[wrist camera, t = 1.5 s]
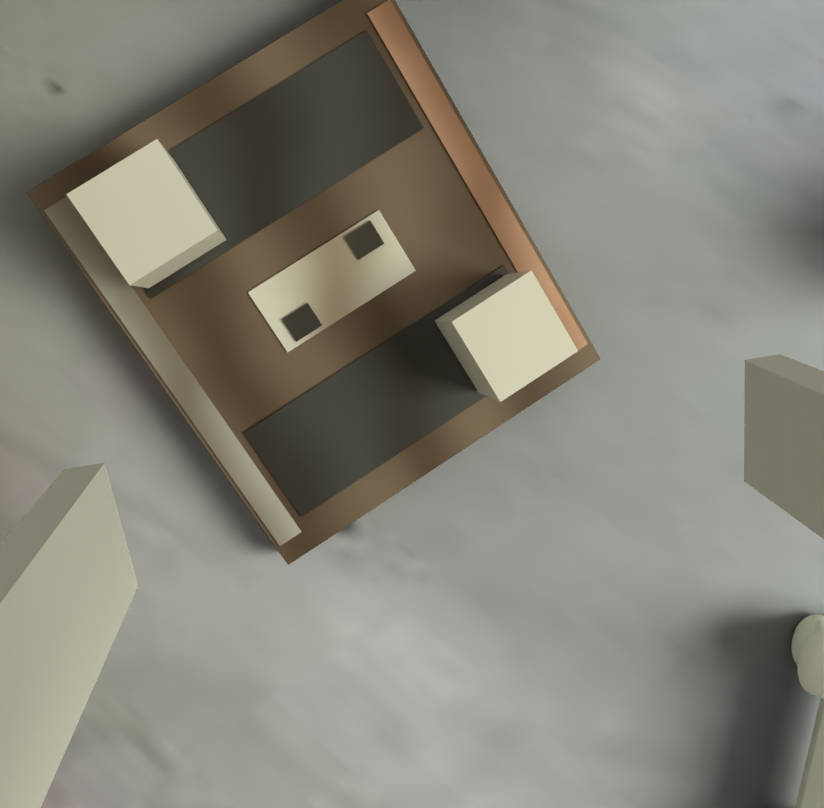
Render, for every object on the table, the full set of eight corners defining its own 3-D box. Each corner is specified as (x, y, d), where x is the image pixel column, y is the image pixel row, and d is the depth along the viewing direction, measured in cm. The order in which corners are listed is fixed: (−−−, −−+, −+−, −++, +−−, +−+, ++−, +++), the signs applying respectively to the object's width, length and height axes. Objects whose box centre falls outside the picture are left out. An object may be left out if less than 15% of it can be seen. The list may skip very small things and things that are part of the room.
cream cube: (148, 288, 33) (129, 285, 29) (93, 208, 33) (66, 194, 29) (226, 239, 34) (217, 230, 30) (173, 159, 33) (157, 138, 29)
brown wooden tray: (288, 551, 38) (288, 566, 36) (41, 199, 34) (24, 191, 32) (585, 356, 39) (602, 359, 37) (376, -5, 35) (381, -26, 33)
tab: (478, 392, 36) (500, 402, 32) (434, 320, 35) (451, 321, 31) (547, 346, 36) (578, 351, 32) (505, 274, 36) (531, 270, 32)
